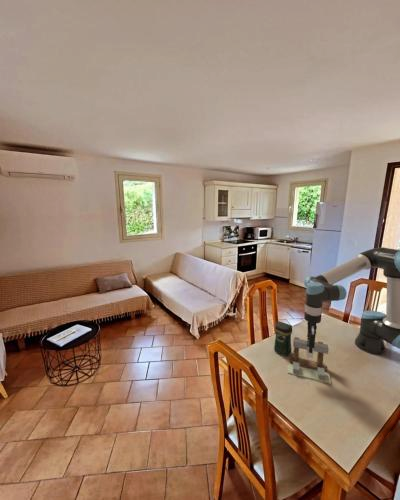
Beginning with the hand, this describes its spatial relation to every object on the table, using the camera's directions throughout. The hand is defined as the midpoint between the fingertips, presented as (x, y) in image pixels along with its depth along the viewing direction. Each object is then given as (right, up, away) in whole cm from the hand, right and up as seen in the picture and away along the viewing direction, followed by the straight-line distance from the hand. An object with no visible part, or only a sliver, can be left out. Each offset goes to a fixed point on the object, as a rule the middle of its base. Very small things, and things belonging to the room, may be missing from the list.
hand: (309, 354), depth 114 cm
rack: (+3, -10, +9) cm, 14 cm away
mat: (0, -11, +2) cm, 11 cm away
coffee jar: (-6, -8, +21) cm, 23 cm away
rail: (0, +4, -1) cm, 4 cm away
